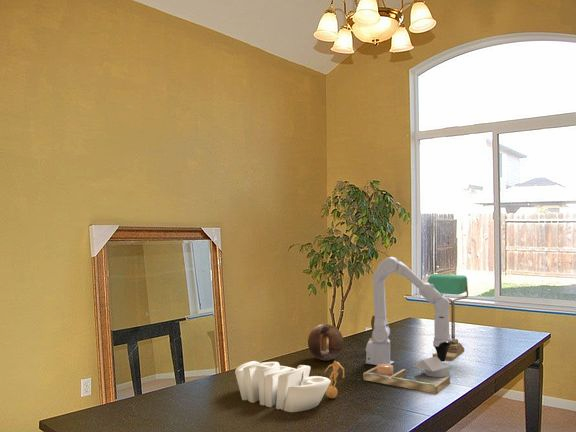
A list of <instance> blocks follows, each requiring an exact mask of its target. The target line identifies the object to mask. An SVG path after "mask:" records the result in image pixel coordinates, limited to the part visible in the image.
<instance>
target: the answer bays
mask: <svg viewBox="0 0 576 432" xmlns="http://www.w3.org/2000/svg"><path fill="white" fill-rule="evenodd" d="M406 376H407V369H406V368H402V369H401V370H399V371H397V372H395V373H393V375H392V376H390V377H389V376H385V375H380V374H377V365H375V366H374V367H373V368H370V369H368V370H366V371H364V372H363V373H362V378H363V379H362V380H363V381H369V382H374V383H378V384H384V385H389V386H396V387H400V388H406V389H411V390H417V391H422V392H427V393H433V394H438V393H439V392H441V391H442V390H443V389H445V388H446V387H447V386H449V385H450V384H451V376H449V375H448V376H445V377H443V379H441V380H440V381H438V382H437V383H436V384H434V383H430V382H424V381H419V380H415V379H414V380H412V379H407V378H405V377H406Z"/></svg>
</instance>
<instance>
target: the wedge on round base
mask: <svg viewBox="0 0 576 432" xmlns="http://www.w3.org/2000/svg"><path fill="white" fill-rule="evenodd" d="M413 367H415V368H419V369H421V370H424V374H425V375H426V376H429V377H434V378H435V377H436V378H445V377H447V376H449V375H450V374H449V373H450V372H449V371H450V370H449V369H450V366H449V364H448V363H446V362H441V361H440V359H439V358H438V357H437V356H435V357H433V356H432V357H428V358H424V359H422V360H420V361H419V362H417V363H415V365H413Z"/></svg>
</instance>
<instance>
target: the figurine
mask: <svg viewBox="0 0 576 432" xmlns="http://www.w3.org/2000/svg"><path fill="white" fill-rule="evenodd" d="M330 367H332V369H333V370H332V371H331V373H330V375H329V378H328V379H330V380H331V382H330V384H329V386H328V388H327V390H326V392H325V395H326V397H327V398H329V399H335V398H336V397H337V396H338V394H339V393H338V389H337V387H336V384H337V379H338V376H339V372H338V371H339V370H340V369H341V370H342V379H345V368H344V367H343V366H342V365H341V363H340V362H339V361H336V360H334V361H333V362H332V364H329V365H328V366H327V368H325V370H324V374H326V372H327V370H329V368H330Z"/></svg>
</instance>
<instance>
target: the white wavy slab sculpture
mask: <svg viewBox="0 0 576 432" xmlns="http://www.w3.org/2000/svg"><path fill="white" fill-rule="evenodd" d="M310 372H311V366H310V365H305V364H299V365H298V366H297V367H296V368H295V367H290V366H285V365H281V364H280V362H278V361H266V362H265V361H264V362H259V361H256V360H251V361H247V362H245V363H242V364H239V366H238V367H236V368H235V371H234V373H235V378H236V380H237V381H236V382H237V385H238V388H239V389H238V390H239V392H240V397H241V400H242V401H248V402H249V403H252V404H253V403H256V402H257V401H259V405H260V406H264V405H265V407H268V408H272V407H274V406H275V409H277V410H279V409H281V410H282V411H284V412H287V413H297V412H304V411H307V410H311V409H315V408H317V407H318V406H319V405H320V402H322V399H323V397H324V395H326V390H327V388H328V387H329V385H330V384H331V382H332V381H331V380H330V378H328V377H325V376H319V375H312V376H310Z"/></svg>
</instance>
